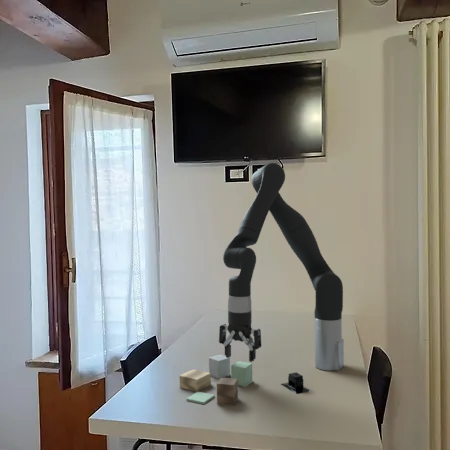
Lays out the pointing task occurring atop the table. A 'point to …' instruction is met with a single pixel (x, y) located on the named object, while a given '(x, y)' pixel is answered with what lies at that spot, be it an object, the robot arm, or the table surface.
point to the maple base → (195, 380)
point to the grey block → (219, 366)
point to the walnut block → (227, 391)
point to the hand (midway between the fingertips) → (239, 359)
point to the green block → (242, 373)
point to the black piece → (295, 383)
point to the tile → (200, 397)
